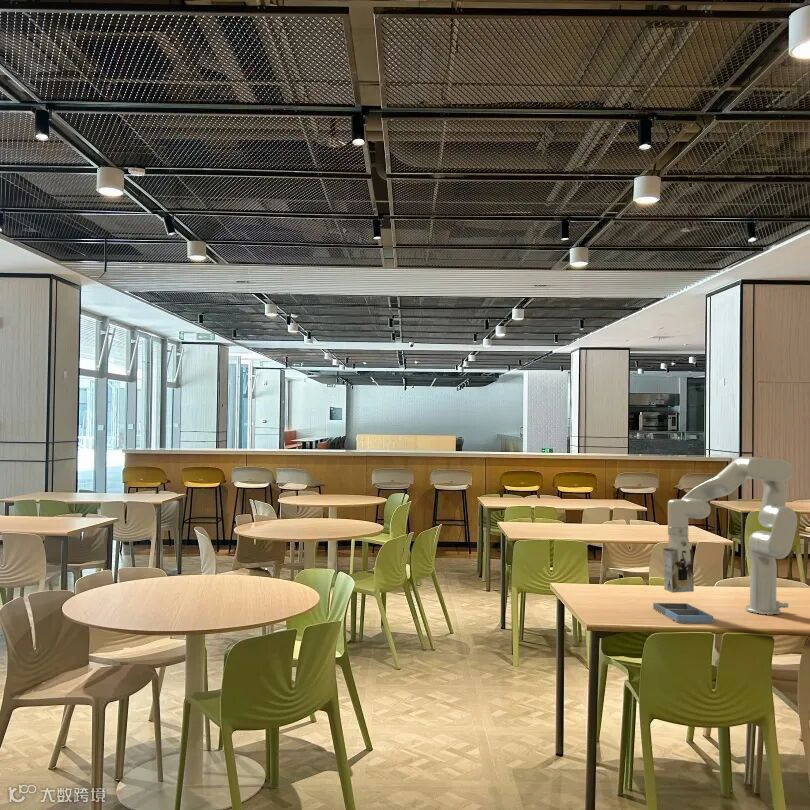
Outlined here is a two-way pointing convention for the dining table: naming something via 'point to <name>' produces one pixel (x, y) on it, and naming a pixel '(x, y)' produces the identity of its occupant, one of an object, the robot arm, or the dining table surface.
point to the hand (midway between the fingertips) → (678, 577)
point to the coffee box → (672, 574)
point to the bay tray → (683, 613)
